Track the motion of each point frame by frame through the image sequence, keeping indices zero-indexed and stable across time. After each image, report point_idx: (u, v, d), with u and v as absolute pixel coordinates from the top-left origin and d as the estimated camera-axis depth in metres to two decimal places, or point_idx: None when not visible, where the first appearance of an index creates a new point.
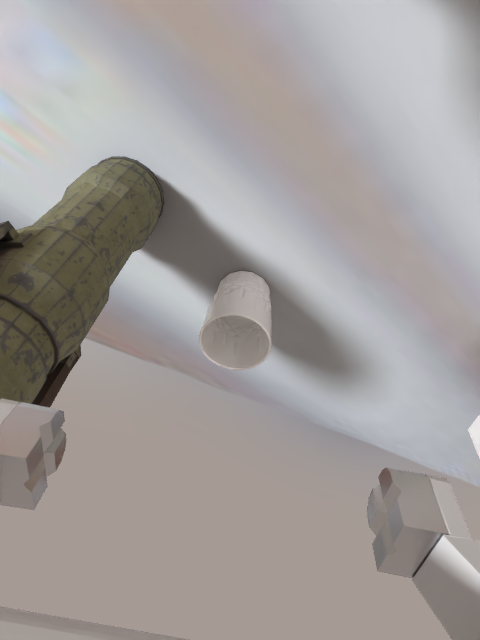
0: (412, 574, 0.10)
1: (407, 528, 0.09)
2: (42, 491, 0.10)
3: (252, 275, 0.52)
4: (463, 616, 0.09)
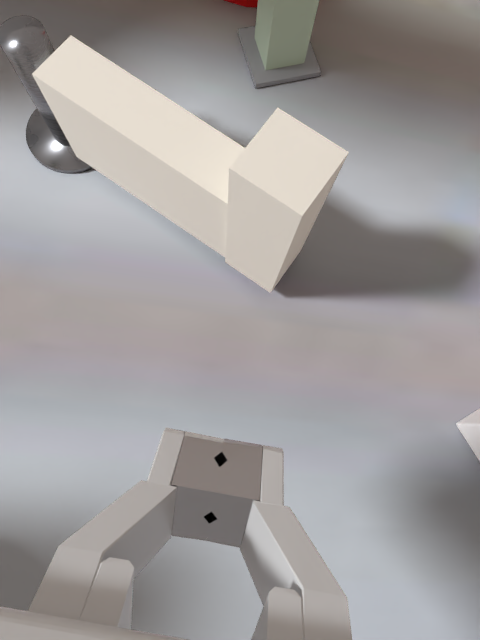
0: (243, 543, 0.10)
1: (219, 494, 0.09)
2: None
3: None
4: (267, 581, 0.09)
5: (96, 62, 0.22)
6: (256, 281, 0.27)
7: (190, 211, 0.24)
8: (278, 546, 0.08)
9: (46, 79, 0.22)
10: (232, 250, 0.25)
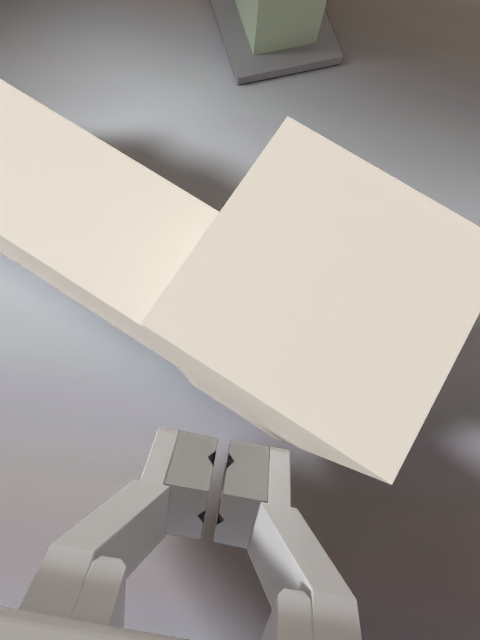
0: (249, 545, 0.10)
1: (227, 496, 0.09)
2: None
3: None
4: (275, 583, 0.09)
5: None
6: (249, 421, 0.15)
7: (114, 320, 0.12)
8: (286, 548, 0.08)
9: None
10: (200, 387, 0.13)
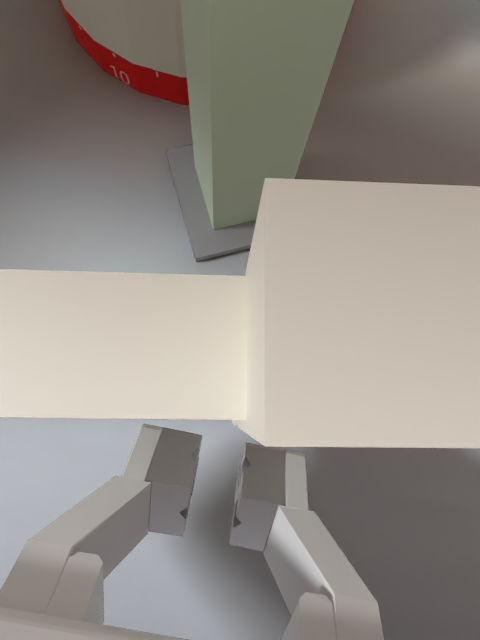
0: (265, 547, 0.10)
1: (245, 499, 0.09)
2: (186, 517, 0.10)
3: None
4: (294, 586, 0.09)
5: None
6: None
7: None
8: (306, 551, 0.08)
9: None
10: None
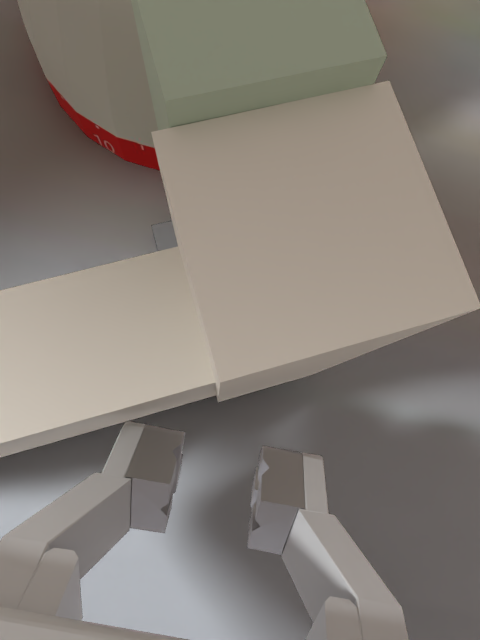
0: (284, 551, 0.10)
1: (264, 503, 0.09)
2: (169, 513, 0.10)
3: None
4: (314, 590, 0.09)
5: None
6: None
7: (124, 417, 0.12)
8: (328, 555, 0.08)
9: None
10: (233, 395, 0.13)
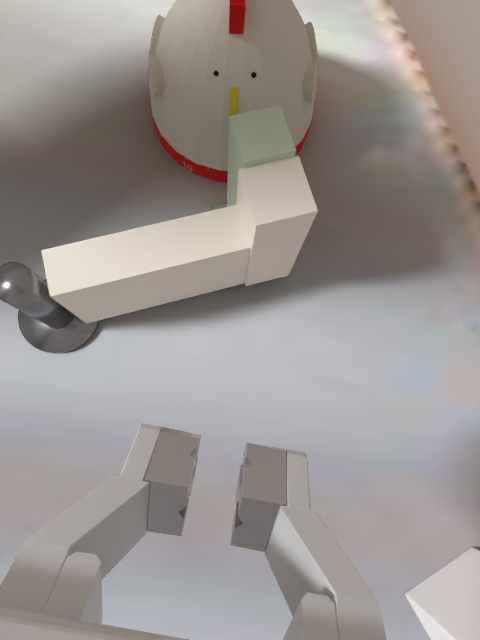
0: (267, 548, 0.10)
1: (246, 499, 0.09)
2: (185, 516, 0.10)
3: None
4: (296, 586, 0.09)
5: (77, 249, 0.26)
6: (275, 277, 0.33)
7: (210, 276, 0.30)
8: (308, 552, 0.08)
9: (62, 290, 0.25)
10: (253, 273, 0.31)
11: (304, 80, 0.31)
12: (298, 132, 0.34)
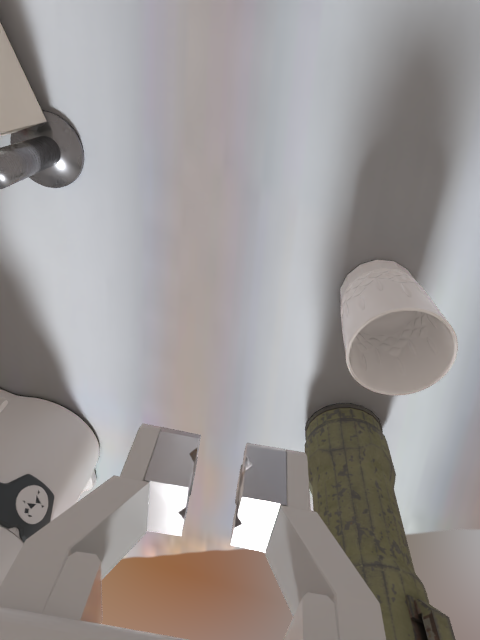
0: (267, 548, 0.10)
1: (246, 500, 0.09)
2: (185, 516, 0.10)
3: None
4: (296, 586, 0.09)
5: None
6: None
7: None
8: (308, 552, 0.08)
9: None
10: None
11: None
12: None
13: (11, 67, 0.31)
